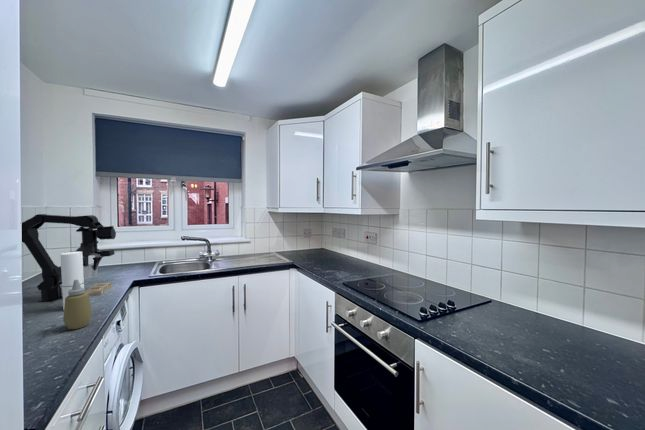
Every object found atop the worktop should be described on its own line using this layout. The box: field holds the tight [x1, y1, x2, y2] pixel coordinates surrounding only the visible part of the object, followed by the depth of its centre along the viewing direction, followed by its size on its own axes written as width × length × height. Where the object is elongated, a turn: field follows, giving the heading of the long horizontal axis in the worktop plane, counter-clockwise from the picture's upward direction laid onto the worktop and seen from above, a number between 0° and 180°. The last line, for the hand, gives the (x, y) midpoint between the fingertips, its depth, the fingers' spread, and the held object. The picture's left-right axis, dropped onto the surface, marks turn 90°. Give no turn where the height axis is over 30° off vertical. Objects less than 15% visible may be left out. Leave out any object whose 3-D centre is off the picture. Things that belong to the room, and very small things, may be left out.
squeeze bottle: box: [63, 280, 93, 330], centre depth 101 cm, size 8×8×18 cm
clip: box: [83, 262, 100, 280], centre depth 134 cm, size 8×3×6 cm, turn 17°
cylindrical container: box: [60, 251, 85, 311], centre depth 119 cm, size 7×7×25 cm
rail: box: [85, 281, 113, 297], centre depth 142 cm, size 14×7×2 cm, turn 19°
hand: (91, 270), depth 135 cm, fingers closed on clip, 3 cm apart
